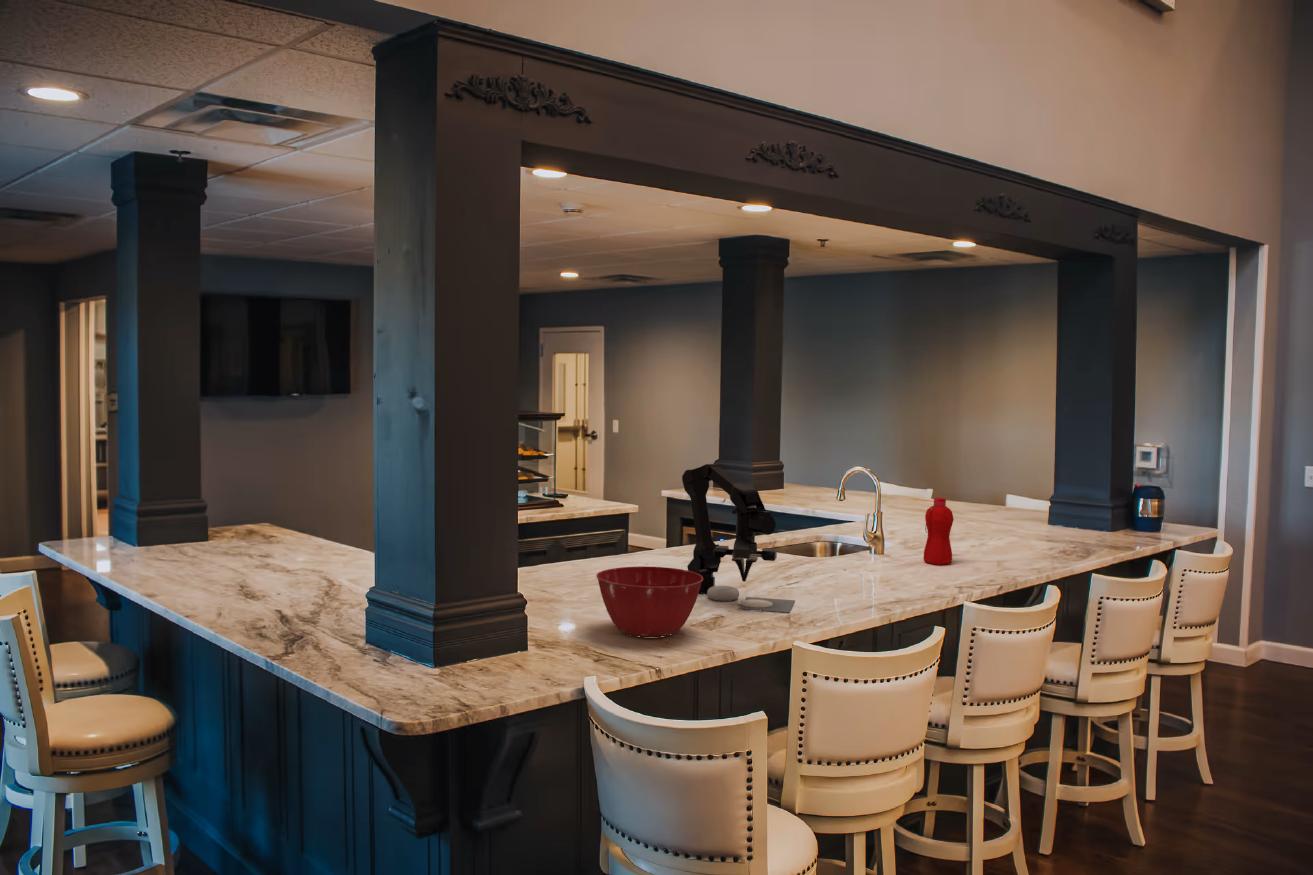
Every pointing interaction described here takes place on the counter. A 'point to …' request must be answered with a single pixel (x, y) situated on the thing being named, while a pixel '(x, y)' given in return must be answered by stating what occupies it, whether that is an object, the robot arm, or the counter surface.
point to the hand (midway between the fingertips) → (744, 581)
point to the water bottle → (938, 533)
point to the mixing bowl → (649, 598)
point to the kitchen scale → (767, 604)
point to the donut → (723, 593)
